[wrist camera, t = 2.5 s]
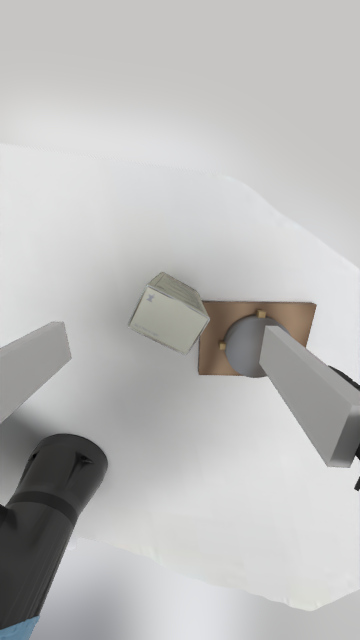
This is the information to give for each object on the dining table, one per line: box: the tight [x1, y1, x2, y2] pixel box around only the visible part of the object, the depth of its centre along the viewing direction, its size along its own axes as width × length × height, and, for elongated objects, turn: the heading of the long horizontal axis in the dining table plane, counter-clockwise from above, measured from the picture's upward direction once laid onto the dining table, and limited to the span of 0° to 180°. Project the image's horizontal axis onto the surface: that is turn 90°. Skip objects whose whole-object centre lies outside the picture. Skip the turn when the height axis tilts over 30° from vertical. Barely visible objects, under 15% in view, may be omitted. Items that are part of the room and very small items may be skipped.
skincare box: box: [128, 272, 210, 355], centre depth 22 cm, size 6×4×12 cm
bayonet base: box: [198, 301, 317, 378], centre depth 28 cm, size 16×12×4 cm
